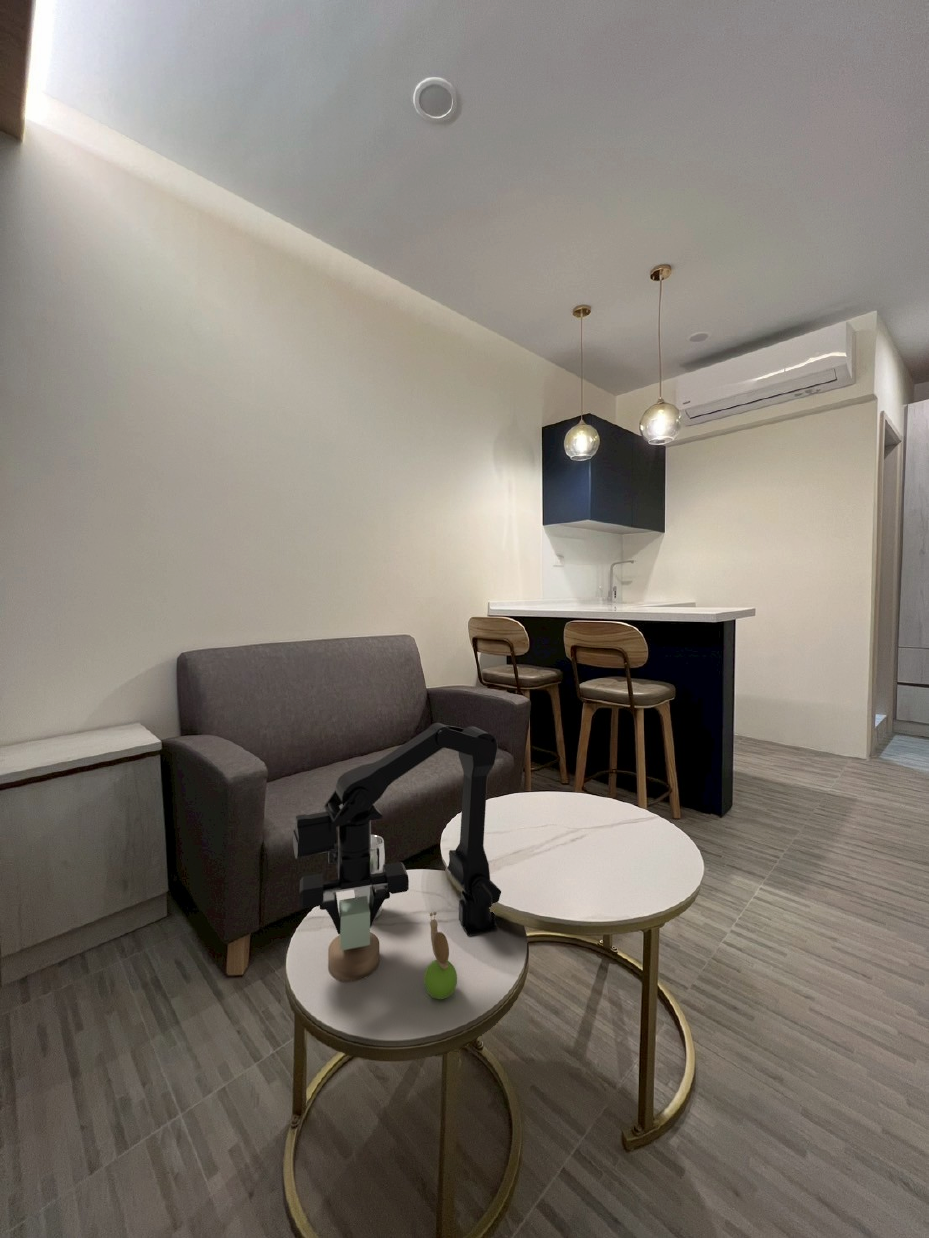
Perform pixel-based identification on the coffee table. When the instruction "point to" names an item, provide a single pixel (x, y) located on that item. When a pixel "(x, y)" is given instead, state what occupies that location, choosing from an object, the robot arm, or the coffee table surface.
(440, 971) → the snail figurine
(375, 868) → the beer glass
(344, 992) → the coffee table surface
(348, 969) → the walnut base
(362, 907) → the sage block
